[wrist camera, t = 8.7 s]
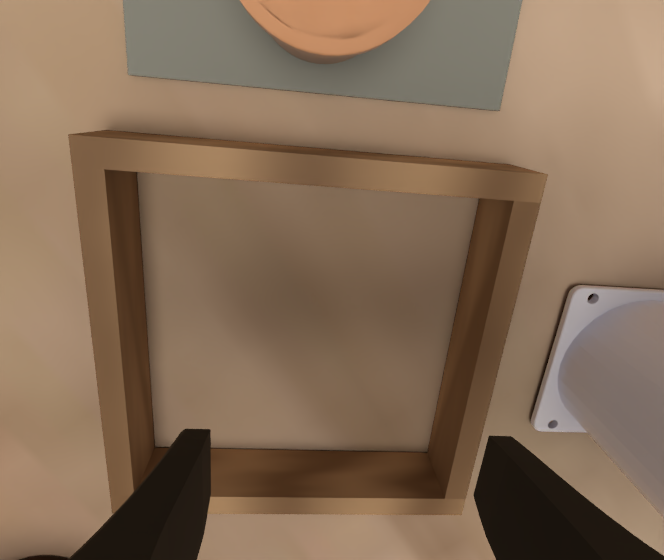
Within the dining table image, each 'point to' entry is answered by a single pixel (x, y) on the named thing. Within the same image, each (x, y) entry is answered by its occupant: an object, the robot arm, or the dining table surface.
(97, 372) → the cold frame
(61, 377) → the dining table surface
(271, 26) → the terracotta pot
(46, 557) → the coffee mug
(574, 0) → the dining table surface
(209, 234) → the dining table surface
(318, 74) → the rubber mat
